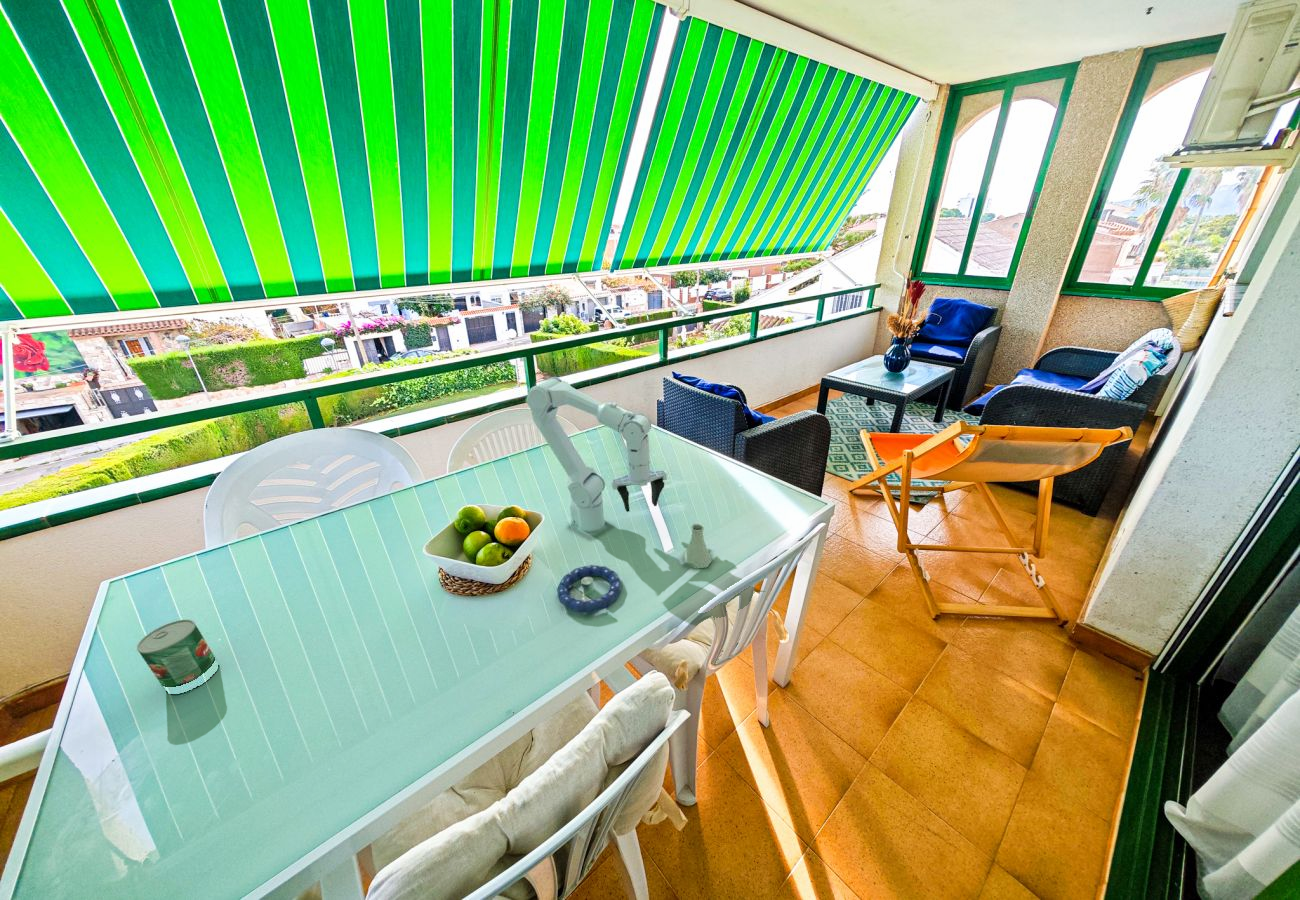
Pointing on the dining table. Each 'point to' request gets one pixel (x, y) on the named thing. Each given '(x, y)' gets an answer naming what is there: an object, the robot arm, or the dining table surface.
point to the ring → (592, 604)
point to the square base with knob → (587, 590)
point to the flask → (697, 548)
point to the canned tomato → (176, 653)
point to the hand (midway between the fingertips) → (640, 507)
